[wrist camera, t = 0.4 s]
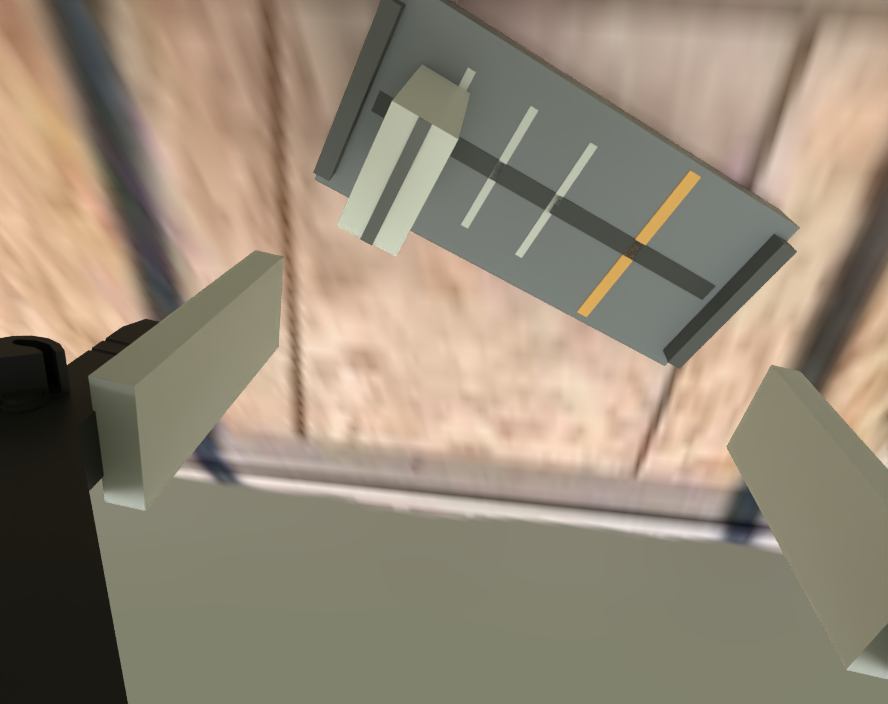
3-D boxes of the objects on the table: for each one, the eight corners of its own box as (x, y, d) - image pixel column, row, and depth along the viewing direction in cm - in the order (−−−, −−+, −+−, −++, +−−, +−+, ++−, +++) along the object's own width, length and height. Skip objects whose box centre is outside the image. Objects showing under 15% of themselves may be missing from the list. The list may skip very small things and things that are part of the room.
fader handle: (422, 64, 30) (391, 101, 22) (470, 93, 31) (458, 139, 23) (376, 162, 34) (336, 226, 25) (421, 187, 34) (395, 257, 26)
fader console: (405, -28, 31) (391, -27, 27) (779, 210, 36) (810, 237, 33) (327, 165, 37) (307, 187, 34) (655, 342, 43) (669, 378, 39)
